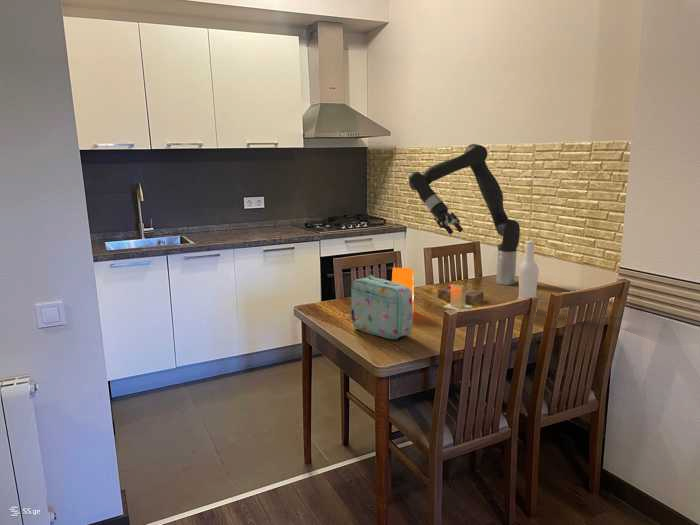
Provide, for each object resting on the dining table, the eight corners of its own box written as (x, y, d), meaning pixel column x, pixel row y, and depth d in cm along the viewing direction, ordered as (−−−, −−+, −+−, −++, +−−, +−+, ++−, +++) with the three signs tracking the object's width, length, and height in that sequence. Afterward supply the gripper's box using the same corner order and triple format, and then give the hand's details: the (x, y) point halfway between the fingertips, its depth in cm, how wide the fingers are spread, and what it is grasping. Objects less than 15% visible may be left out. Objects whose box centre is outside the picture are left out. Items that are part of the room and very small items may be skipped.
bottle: (532, 313, 209) (537, 243, 203) (513, 310, 214) (517, 241, 208) (538, 308, 216) (543, 240, 209) (520, 305, 220) (523, 238, 214)
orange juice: (412, 316, 209) (412, 270, 205) (391, 315, 211) (391, 269, 207) (413, 310, 217) (414, 266, 212) (393, 310, 218) (393, 265, 214)
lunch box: (345, 327, 197) (344, 275, 193) (363, 321, 204) (363, 270, 200) (397, 344, 179) (397, 287, 174) (415, 337, 186) (415, 281, 181)
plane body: (437, 297, 235) (437, 286, 234) (449, 293, 242) (449, 281, 241) (472, 305, 223) (472, 292, 222) (483, 300, 230) (483, 287, 229)
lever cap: (450, 306, 220) (450, 285, 218) (454, 304, 223) (454, 283, 221) (461, 308, 217) (461, 287, 215) (465, 306, 219) (465, 285, 217)
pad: (443, 307, 220) (443, 306, 220) (452, 303, 226) (452, 302, 226) (463, 312, 213) (463, 310, 213) (472, 307, 219) (472, 306, 219)
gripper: (432, 202, 230) (453, 228, 224) (449, 199, 240) (469, 225, 235) (422, 213, 234) (443, 239, 229) (439, 210, 244) (459, 235, 239)
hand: (456, 232), depth 232 cm, fingers open, 8 cm apart
